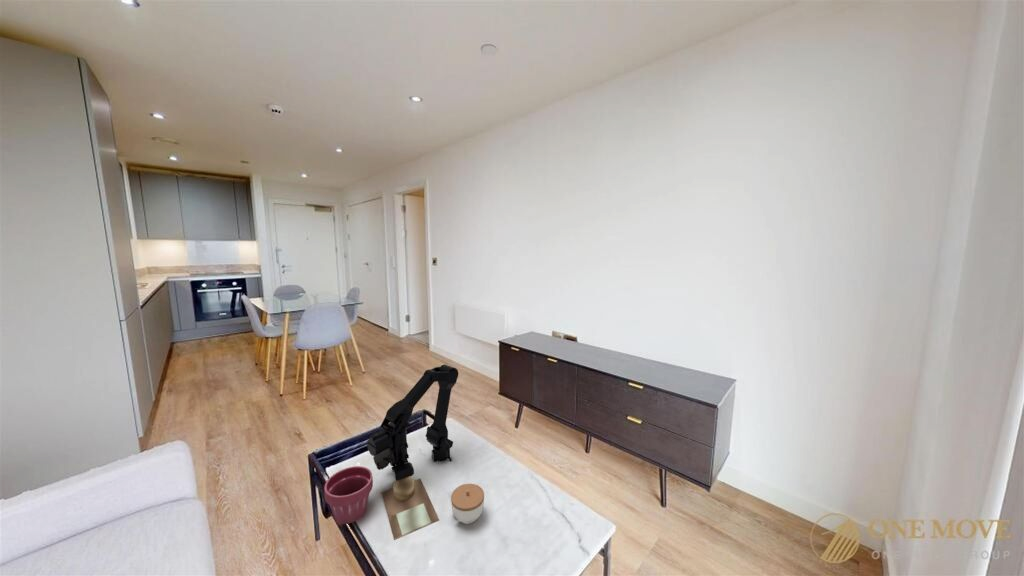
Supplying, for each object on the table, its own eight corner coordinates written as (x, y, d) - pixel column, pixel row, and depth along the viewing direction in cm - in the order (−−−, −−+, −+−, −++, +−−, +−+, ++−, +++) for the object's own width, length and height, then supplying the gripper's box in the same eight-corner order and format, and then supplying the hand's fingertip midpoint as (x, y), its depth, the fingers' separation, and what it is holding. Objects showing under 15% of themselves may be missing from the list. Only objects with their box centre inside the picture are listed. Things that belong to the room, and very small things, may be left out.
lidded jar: (489, 508, 113) (489, 483, 112) (475, 534, 103) (475, 507, 102) (461, 500, 116) (460, 475, 115) (445, 524, 106) (444, 498, 105)
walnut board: (420, 481, 126) (420, 478, 125) (439, 523, 107) (439, 520, 107) (381, 495, 118) (381, 492, 118) (394, 543, 100) (394, 540, 100)
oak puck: (411, 483, 123) (411, 473, 122) (416, 495, 117) (416, 485, 116) (391, 490, 119) (391, 480, 119) (396, 503, 113) (395, 493, 113)
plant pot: (383, 508, 113) (381, 474, 111) (346, 541, 100) (343, 503, 99) (355, 493, 119) (353, 460, 118) (317, 522, 107) (314, 486, 105)
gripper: (370, 434, 124) (373, 472, 127) (379, 463, 108) (381, 506, 111) (401, 426, 130) (403, 463, 132) (413, 452, 114) (415, 493, 116)
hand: (400, 480), depth 123 cm, fingers closed
